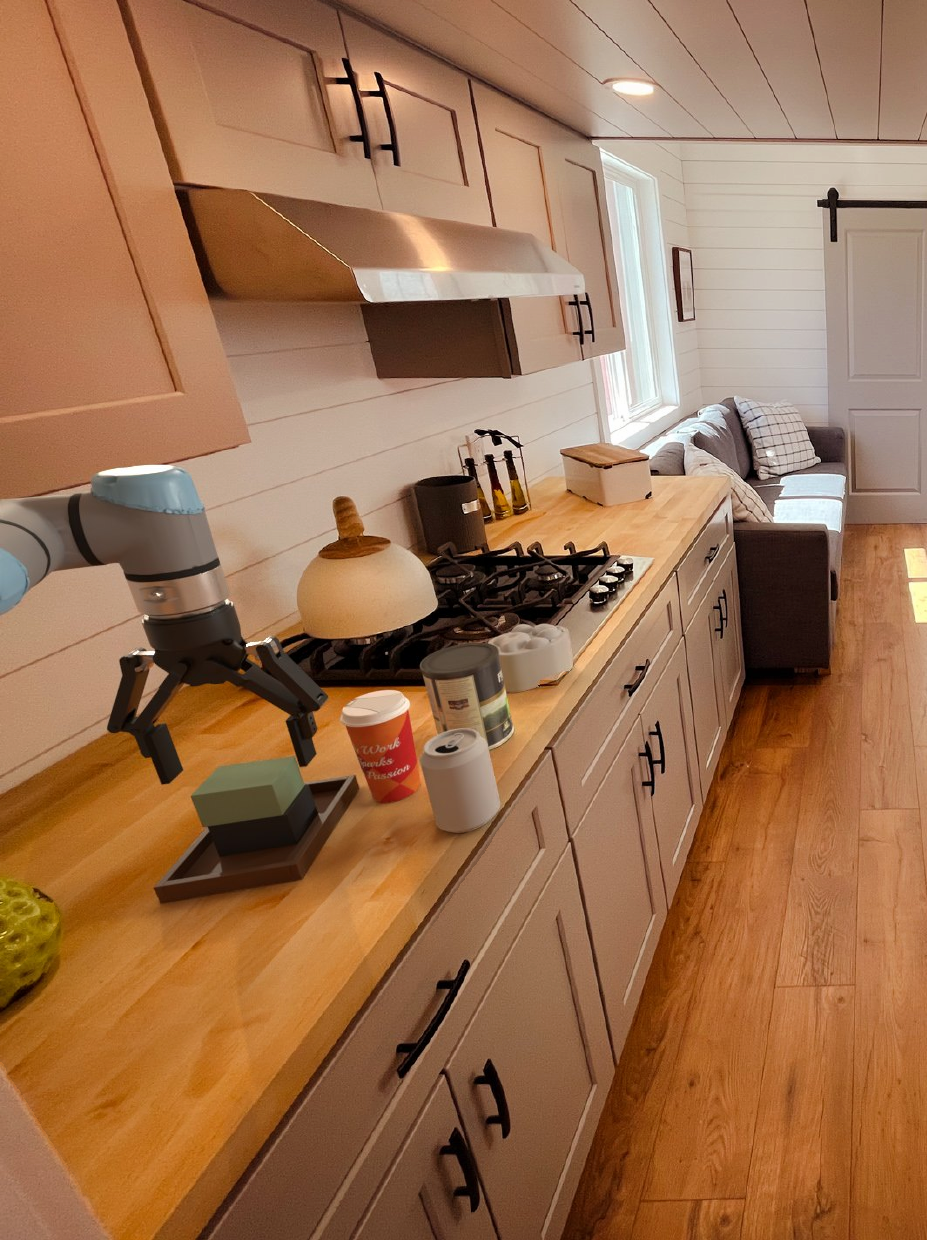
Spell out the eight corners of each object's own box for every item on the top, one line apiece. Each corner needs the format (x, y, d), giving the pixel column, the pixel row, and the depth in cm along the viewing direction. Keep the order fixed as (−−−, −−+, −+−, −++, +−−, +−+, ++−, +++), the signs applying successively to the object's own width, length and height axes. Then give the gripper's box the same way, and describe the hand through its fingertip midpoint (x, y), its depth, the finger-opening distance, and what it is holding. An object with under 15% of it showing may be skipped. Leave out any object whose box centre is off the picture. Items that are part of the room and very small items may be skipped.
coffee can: (503, 712, 119) (487, 635, 114) (523, 739, 112) (507, 658, 107) (432, 736, 113) (412, 655, 108) (448, 765, 106) (428, 680, 101)
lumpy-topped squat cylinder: (489, 675, 131) (480, 632, 128) (561, 653, 140) (555, 612, 137) (509, 696, 124) (500, 651, 121) (584, 672, 133) (577, 629, 130)
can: (423, 834, 92) (401, 754, 88) (463, 797, 99) (445, 721, 95) (476, 840, 91) (457, 760, 87) (513, 802, 98) (497, 726, 94)
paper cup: (350, 808, 96) (323, 718, 92) (386, 773, 104) (362, 688, 99) (410, 807, 97) (386, 717, 92) (441, 772, 104) (420, 687, 99)
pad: (202, 827, 85) (190, 796, 84) (229, 796, 90) (218, 766, 89) (282, 815, 87) (272, 784, 86) (304, 785, 93) (295, 755, 91)
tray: (160, 903, 81) (153, 888, 80) (243, 805, 97) (237, 791, 96) (302, 879, 85) (296, 864, 84) (359, 788, 100) (355, 774, 100)
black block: (219, 857, 87) (207, 826, 85) (245, 824, 92) (234, 795, 91) (297, 844, 89) (286, 814, 87) (318, 813, 94) (309, 784, 93)
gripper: (13, 631, 73) (89, 805, 80) (304, 609, 80) (349, 771, 87) (69, 604, 80) (134, 766, 87) (332, 585, 86) (372, 737, 94)
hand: (242, 769), depth 87 cm, fingers open, 13 cm apart
